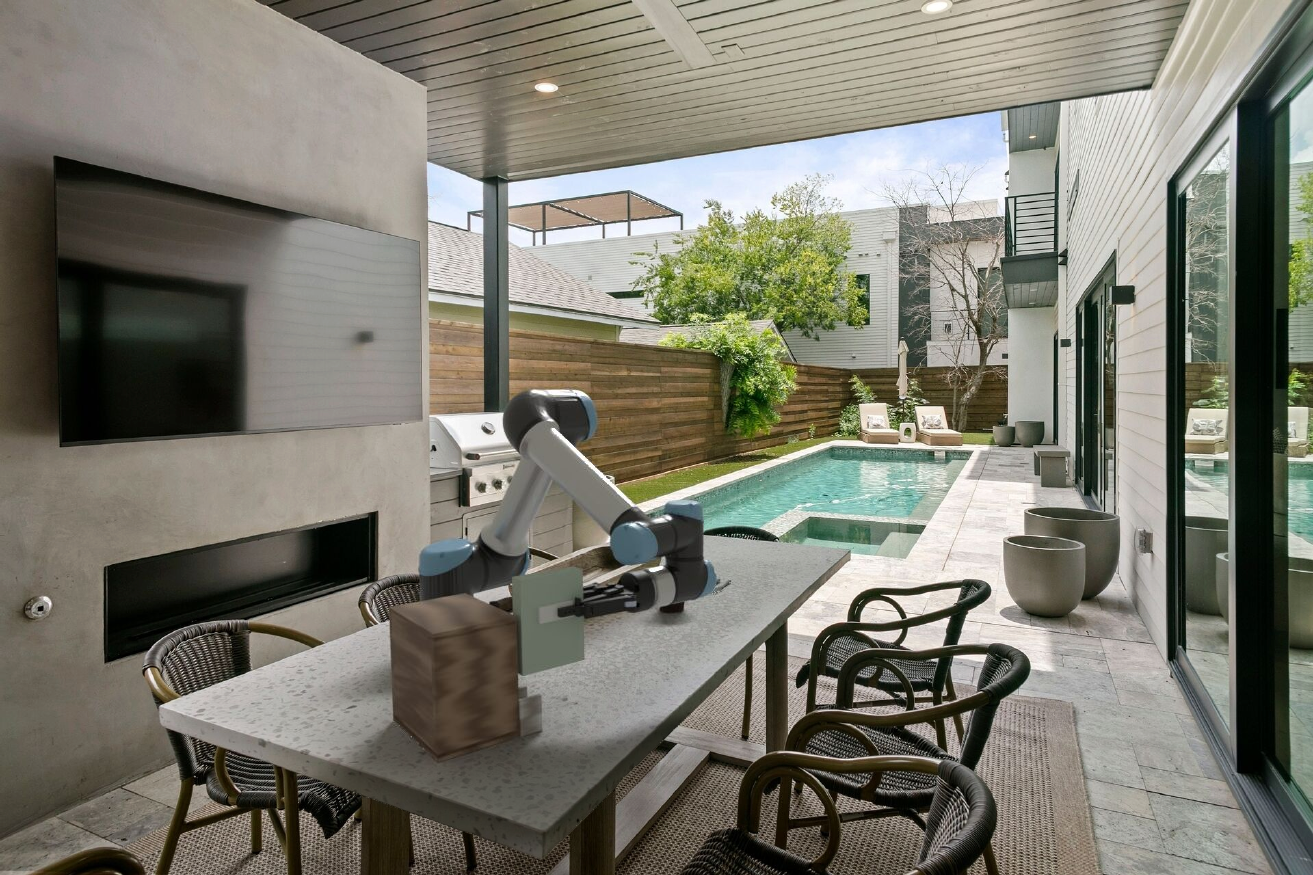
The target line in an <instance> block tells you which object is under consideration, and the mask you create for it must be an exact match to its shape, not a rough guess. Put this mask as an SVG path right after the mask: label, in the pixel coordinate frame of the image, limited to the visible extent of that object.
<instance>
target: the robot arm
mask: <svg viewBox="0 0 1313 875" xmlns="http://www.w3.org/2000/svg"><path fill="white" fill-rule="evenodd" d="M597 427H598V413H597V412H596V406H595V404H594V402H593V400H592V398H591V397H590V396H589V395H588V394H587V393H585V392H583V391H581V390H578V389H571V388H563V389H537V388H536V389H534V388H532V389H527V390H523V391H520V392H519V393H517V394H515V395H514V396H513V397H512V398H511V399H510V400H509V401H508V403H507V404H506V405H505V408H504V410H503V415H502V429H503V432H504V435H505V437H506V439H507V441H508V442H509V444H510V445H511V446H512V447H513V449H514V450H515V451H516V452H517V453H518V454H519V455H520V456H521V458H520V460H519V462H518V464H517V466H516V469H515V471H514V473H513V476H512V478H511V480H510V482H509V484H508V486H507V489H506V490H505V494H504V496H503V498H502V500H501V502H500V504H499V506H498V508H497V511H496V512H495V515H494V517H493V519H492V521H491V523H487V524H485V525H484V526H483V527H482V528H481V531H480V532H479V535H478V537H477V539H476V541H474V542H472V541H471V540H469V539H466V538H451V539H445V540H440V541H436V542H433V543H431V544H429V545H427V546H425V547H424V548H423V549H422V550H421V551H420V553H419V557H418V568H417V569H418V570H417V571H418V576H419V577H418V578H419V599H420V601H425V600H431V599H436V598H442V597H447V596H453V595H458V594H464V593H466V594H468V595H470V596H473V597H475V596H474V594H479V593H483V592H486V591H489V590H493V589H494V590H495V589H498V588H502V587H507V586H509V585H512V577H515V576H520V575H526V573H527V571H528V570H529V566H530V562H531V558H530V557H529V555H530V553H531V552H530V549H529V543H528V542H529V541H528V540H527V535H528V533H529V531H530V529H531V527H532V525H533V523H534V521H535V518H536V517H537V515H538V512H539V511H540V508H541V506H542V504H543V502H544V500H545V498H546V495H547V493H548V491H549V489H550V487H551V485H552V483H553V481H554V482H555V484H556V485H558V487H559V488H561V490H562V491H563V492H565V494H566V495H568V497H569V498H570V499H572V501H574V502H575V504H577V505H578V506H579V507H580V508H581V509H582V510H583V511H584V513H585V514H586V515H588V516H589V517H590V518H591V519H592V520H593V521H594V522H595V523H596V524H597V525H598V526H599V527H600V529H602V530H603V531H604V532H605V533H606V534H607V535H608V536H609V537H610V539H609V546H610V550H611V551H612V555H613V557H614V559H615V560H616V561H618V562H619V563H620V564H622V565H625V566H636V565H642V564H643V565H644V564H648V563H650V562H653V561H655V560H658V559H660V558H663V557H664V559H665V564H664V565H658V566H652V567H646V568H642V569H637V570H632V571H626V572H624V573H623V574H621V576H620V577H619V579H618V581H617V582H616V583H615V582H607V583H606V584H604V585H600V584H599V582H595V581H594V582H592V583H589V584H587V585H583V600H581V598H578V597H577V598H576V597H575V605H573V601H572V600H570V601H565V602H560V603H555V604H550V605H545V606H540V607H538V623H539V624H542V623H547V622H551V621H556V620H560V619H565V618H570V617H574V615H575V616H576V617H581V616H584V620H585V619H587V620H589V619H593V618H599V617H603V616H608V615H614V614H619V613H624V612H628V613H630V614H637V613H642V612H645V611H649V610H652V609H655V611H660V610H659V609H660V607H661V606H666V605H671V604H675V603H680V602H689V601H695V600H698V599H700V598H704V597H706V596H709V595H711V593H712V592H713V591H714V590H715V588H716V586H717V583H716V582H717V579H718V578H717V573H715V567H714V565H713V564H712V563H711V561H709V560H708V559H706V558H705V556H704V532H705V531H704V529H705V528H704V526H705V525H704V523H705V520H704V512H703V506H702V504H701V502H700V501H696V500H689V499H679V500H677V499H676V500H669V501H667V502H666V503H665V504H664V506H663V507H664V508H663V509H664V510H663V515H659V516H658V515H657V516H653V517H650V516H648V515H647V514H646V513H645V512H644V511H643V510H642V509H640V507H639V506H637V505H636V504H635V503H634V502H633V501H632V500H631V499H630V498H629V497H628V496H627V495H625V493H624V492H623V491H621V489H620V488H619V487H618V486H616V485H615V484H614V483H613V482H612V481H611V480H610V479H609V478H608V477H607V476H606V475H604V473H603V472H602V471H600V470H599V469H598V467H596V466H595V465H594V464H593V462H591V461H590V459H588V458H587V457H586V456H585V455H584V454H583V453H582V452H581V451H580V450H579V449H577V447H578V444H580V443H583V442H586V441H588V440H589V439H591V438H592V437H593V436H594V435H595V432H596V431H597ZM420 601H419V602H420Z"/></svg>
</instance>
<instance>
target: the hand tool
mask: <svg viewBox="0 0 1313 875" xmlns="http://www.w3.org/2000/svg"><path fill="white" fill-rule="evenodd" d="M488 604H490V605H492V606H495V607H497V608H499V609H501V610H503V611H505V612H508V611H509V610H513V599H512V597H511V596H508V597H507V596H506V597H504V598H501V599H497V600H490V601H489V602H488Z"/></svg>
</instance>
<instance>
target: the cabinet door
mask: <svg viewBox="0 0 1313 875" xmlns="http://www.w3.org/2000/svg"><path fill="white" fill-rule="evenodd" d="M583 572H584V569H583V568H580V567H577V566H574V565H573V566H567V567H563V568H557V569H549V570H544V571H538V572H533V573H527V574H526V573H525V575H520V576H515V577H512V584H511V588H512V589H511V590H512V591H511V593H512V594H511V596H512V599H513V609H512V615H514V616H516V620H517V654H518V675H520V676H522V677H525V676H529V675H532V674H536V673H537V674H538V673H541V672H543V671H547V670H551V669H555V668H559V667H562V666H566V665H567V666H568V665H571V664H574V663H578V662H582V661H585V622H584V621H585V618H584V616H581V617H576V616H575V615H574V617H570V618H565V619H560V620H556V621H551V622H547V623H542V624H539V623H538V607H540V606H545V605H550V604H555V603H560V602H565V601H570V600H572V601H573V605H575V597H576V598H577V597H578V598H581V600H583V586H584V573H583Z"/></svg>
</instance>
